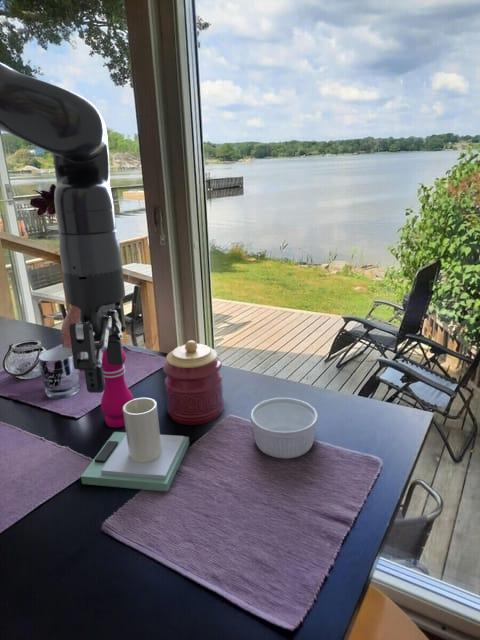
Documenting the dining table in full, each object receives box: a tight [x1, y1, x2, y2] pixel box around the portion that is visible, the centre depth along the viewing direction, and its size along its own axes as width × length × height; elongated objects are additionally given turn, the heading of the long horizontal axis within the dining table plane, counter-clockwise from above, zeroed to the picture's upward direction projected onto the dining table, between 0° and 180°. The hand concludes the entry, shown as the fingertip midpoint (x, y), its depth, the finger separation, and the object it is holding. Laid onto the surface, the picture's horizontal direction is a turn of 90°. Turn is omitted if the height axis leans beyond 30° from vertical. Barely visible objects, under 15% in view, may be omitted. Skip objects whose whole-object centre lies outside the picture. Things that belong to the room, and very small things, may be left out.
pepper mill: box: [100, 348, 135, 429], centre depth 96 cm, size 7×7×20 cm
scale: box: [80, 431, 190, 492], centre depth 84 cm, size 16×14×3 cm
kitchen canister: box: [162, 340, 225, 426], centre depth 99 cm, size 13×13×18 cm
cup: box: [123, 397, 162, 462], centre depth 81 cm, size 6×6×10 cm
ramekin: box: [250, 397, 319, 459], centre depth 88 cm, size 13×13×7 cm
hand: (106, 377), depth 63 cm, fingers open, 8 cm apart
